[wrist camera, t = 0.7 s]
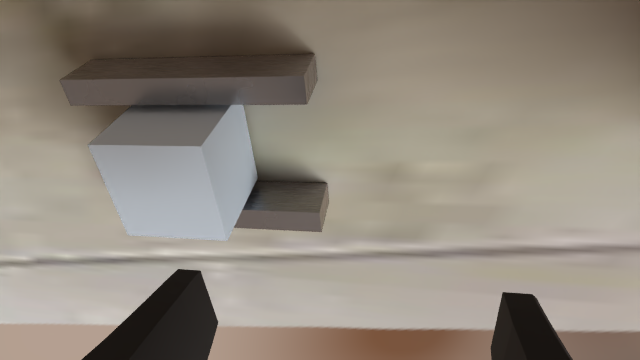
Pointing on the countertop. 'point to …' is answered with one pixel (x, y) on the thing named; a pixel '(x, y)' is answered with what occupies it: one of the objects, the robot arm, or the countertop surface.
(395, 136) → the countertop surface
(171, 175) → the block
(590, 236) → the countertop surface
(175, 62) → the grey flat bars
